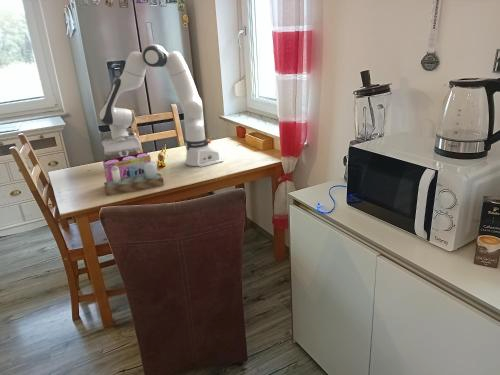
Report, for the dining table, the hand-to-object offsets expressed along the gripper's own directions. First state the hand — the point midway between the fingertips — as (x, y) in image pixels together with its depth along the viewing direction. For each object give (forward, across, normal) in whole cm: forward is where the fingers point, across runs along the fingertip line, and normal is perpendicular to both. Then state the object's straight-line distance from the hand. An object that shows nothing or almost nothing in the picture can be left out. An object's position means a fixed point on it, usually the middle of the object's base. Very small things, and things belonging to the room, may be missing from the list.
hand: (125, 158), depth 222 cm
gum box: (+18, -1, -8) cm, 20 cm away
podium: (+25, 0, -14) cm, 29 cm away
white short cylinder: (+22, +9, -18) cm, 29 cm away
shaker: (+22, -8, -17) cm, 29 cm away
